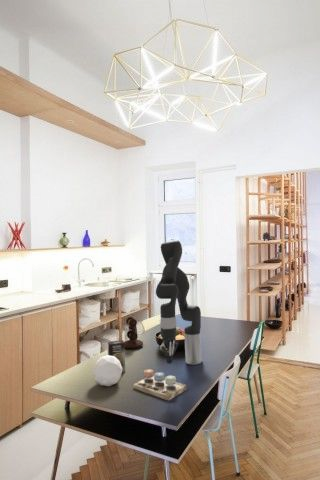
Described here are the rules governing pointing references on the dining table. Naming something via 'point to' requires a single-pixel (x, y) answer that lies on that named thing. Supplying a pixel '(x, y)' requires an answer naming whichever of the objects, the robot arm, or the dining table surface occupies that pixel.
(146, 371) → the two dot button
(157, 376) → the three dot button
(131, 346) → the dark brown tall piece
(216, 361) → the dining table surface
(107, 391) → the dining table surface
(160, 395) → the button board
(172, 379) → the pale green button
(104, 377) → the geometric shape
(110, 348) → the coffee box
